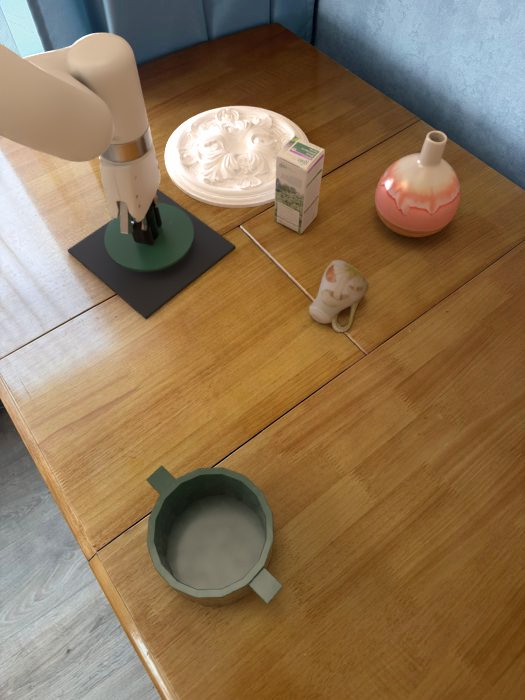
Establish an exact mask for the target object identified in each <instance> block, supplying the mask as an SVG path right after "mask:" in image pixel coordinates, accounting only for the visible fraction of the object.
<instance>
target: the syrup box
mask: <svg viewBox="0 0 525 700" xmlns="http://www.w3.org/2000/svg"><path fill="white" fill-rule="evenodd" d="M325 152H326V149H324V148H322V147H320V146H318V145H316V144H313V143H311V142H310V141H309V142H307V141H304V140H302V139H300V138H298V137H296V136H295V137H293V138H292V139H291V140H290V141H289V142H288V143H287V144H286V145H285V146H284V147H283V148H282V149H281V150H280V152H279V153H278V154H277V155H276V184H275V201H274V222H275V223H277V224H280V225H281V226H283V227H286V228H287V229H289V230H291V231H293V232H295V233H297V234H299V235H301V234H303V233H304V231H305V230H306V229H307V228H308V227H309V226H310V225H311V223H312V222H313V221H314V220H315V218H316V217H317V216H318V211H319V201H320V200H319V199H320V198H319V197H320V192H321V183H322V176H323V170H324V162H325Z"/></svg>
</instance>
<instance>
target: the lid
mask: <svg viewBox="0 0 525 700" xmlns="http://www.w3.org/2000/svg"><path fill="white" fill-rule="evenodd" d="M156 207H158V208H159V213H160V217H161V221H162V225H161V227H158V226H157V222H156V218H155V214H154V210H153V207H152V205H150V207H149V209H148V211H147V213H146V215H145V216H146V221H147V225H149V226H150V228H151V232H152V236H153V240H154V243H153V245H147V244H140V243H137V242H135V241H134V239H133V235H132V233H131V234H130V235H127V234H122V233H121V231H120V215H119V217H118V219H116V218H114V219H113V218H112V219H113V220H112V219H111V220H112V221H111V220H110V221H111V222H110V224H109V225H108V227H107V229H106V232H105V237H104V242H105V247H106V250H107V252H108V254H109V256H110V257H111V259H112V260H113V261H114V262H116V263H117V264H118V265H120V266H122V267H124V268H126V269H129V270H133V271H138V272H152V271H158V270H162V269H165V268H168V267H170V266H172V265H174V264H176V263H177V262H179V261H180V260H181V259H182V258H183V257H184V256H185V255H186V254H187V253H188V252H189V250H190V249H191V247H192V245H193V241H194V228H193V224H192V222H191V220H190V218H189V217H188V216H187V215H186V214H185V213H184V212H183V211H182V210H180V209H179V208H177V207H174V206H172V205H169V204H165V203H158V205H157V206H156ZM133 221H136V219H135V218H133Z"/></svg>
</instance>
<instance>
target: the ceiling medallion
mask: <svg viewBox="0 0 525 700" xmlns="http://www.w3.org/2000/svg"><path fill="white" fill-rule="evenodd" d="M295 136H296V137H298V138H300V139H302V140H304V141H307V142H309V143H310V141H309V139H308V137H307V135H306V134H305V132H304V131H303V130H302V128H301V127H300V126H299V125H298V124H296V123H295V122H294V121H292V120H291V119H289V118H288V117H286V116H284V115H283V114H280V113H278V112H275V111H272V110H269V109H266V108H262V107H257V106H251V105H249V106H248V105H229V106H222V107H217V108H213V109H209V110H206V111H203V112H200V113H198V114H196V115H194V116H192V117H190V118H188V119H187V120H186V121H184V122H183V123H181V124H180V125H179V126H178V127H177V128H176V129H175V130H174V131H173V132H172V134H171V135H170V137H169V138H168V141H167V142H166V146H165V150H164V164H165V169H166V172H167V174H168V177H169V178H170V180H171V181H172V183H173V184H174V185H175V186H176V187H177V188H178V189H179V190H180V191H181V192H182V193H184V194H185V195H186V196H189V198H192V199H194V200H196V201H198V202H200V203H203V204H207V205H211V206H213V207H217V208H219V207H220V208H227V209H247V208H255V207H260V206H264V205H268V204H271V203H273V202H275V184H276V155H277V154H278V153H279V152H280V150H281V149H282V148H283V147H284V146H285V145H286V144H287V143H288V142H289V141H290V140H291V139H292V138H293V137H295Z"/></svg>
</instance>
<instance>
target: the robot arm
mask: <svg viewBox="0 0 525 700" xmlns="http://www.w3.org/2000/svg"><path fill="white" fill-rule="evenodd" d="M144 99H145V98H144V94H143V90H142V85H141V80H140V76H139V71H138V67H137V61H136V56H135V54H134V50H133V48H132V47H131V45H130V44H129V42H128V41H127V40H126V39H125V38H123V37H122V36H120V35H117V34H115V33H110V32H95V33H90V34H87V35H85V36H82V37H81V38H79V39H77V40H76V41H75V42H74V43H73V44H72V45H69V46H66V47H63V48H57V49H54V50H49V51H44V52H39V53H35V54H31V55H27V56H24V57H23V56H21V55H20V54H17V53H16V52H15V51H14V50H11V49H10V48H8V47H7V46H5V45H4V44H2V43H1V42H0V136H1V137H3V138H5V139H7V140H10V141H12V142H14V143H16V144H19V145H21V146H23V147H26V148H29V149H32V150H34V151H37V152H40V153H43V154H46V155H49V156H53V157H55V158H58V159H60V160H64V161H67V162H73V163H85V162H90V161H93V160H96V159H97V158H98V159H99V156H100V160H99V162H98V165H99V174H100V180H101V185H102V190H103V194H104V198H105V201H106V205H107V207H108V211H109V214H110V216H111V218H112V219H113V218H116V219H118V217H119V215H120V231H121V233H122V234H127V235H130V234H131V233H132V235H133V239H134V241H135V242H137V243H140V244H147V245H153V243H154V240H153V236H152V232H151V228H150V226H149V225H147V221H146V216H145V215H146V213H147V211H148V209H149V207H150V205H152V207H153V210H154V214H155V218H156V222H157V226H158V227H161V225H162V221H161V217H160V213H159V208H158V207H156V206H157V205H158V198H157V195H156V192H157V189H158V190H159V187H160V185H161V184H160V183H161V179H162V178H161V177H162V176H161V171H160V169H161V168H160V164H159V161H158V157H157V153H156V149H155V146H154V142H153V141H154V140H153V137H152V132H151V128H150V123H149V118H148V112H147V108H146V103H145V100H144ZM133 218H135V219H136V221H133Z"/></svg>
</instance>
